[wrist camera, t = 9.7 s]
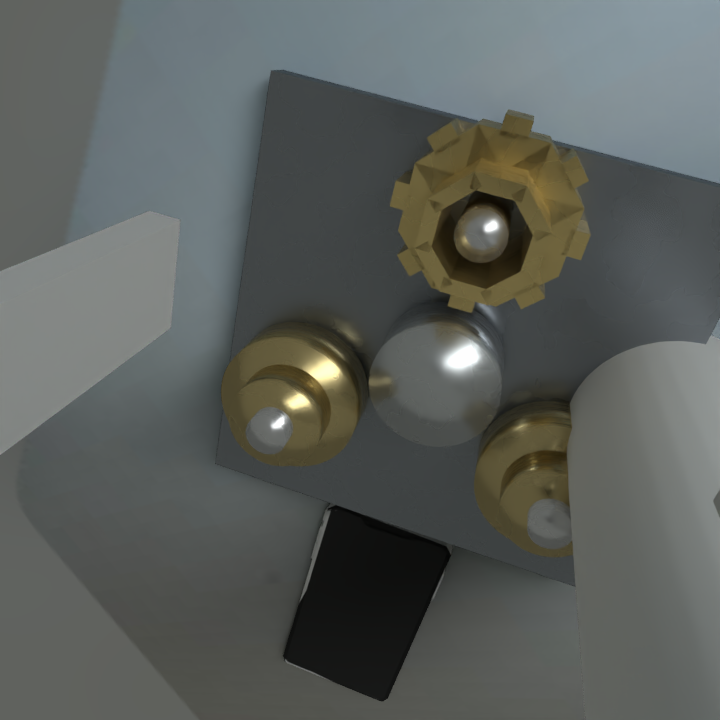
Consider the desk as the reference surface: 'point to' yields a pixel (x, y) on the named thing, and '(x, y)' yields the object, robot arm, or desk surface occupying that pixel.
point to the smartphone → (364, 600)
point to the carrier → (439, 328)
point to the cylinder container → (648, 532)
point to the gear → (500, 178)
